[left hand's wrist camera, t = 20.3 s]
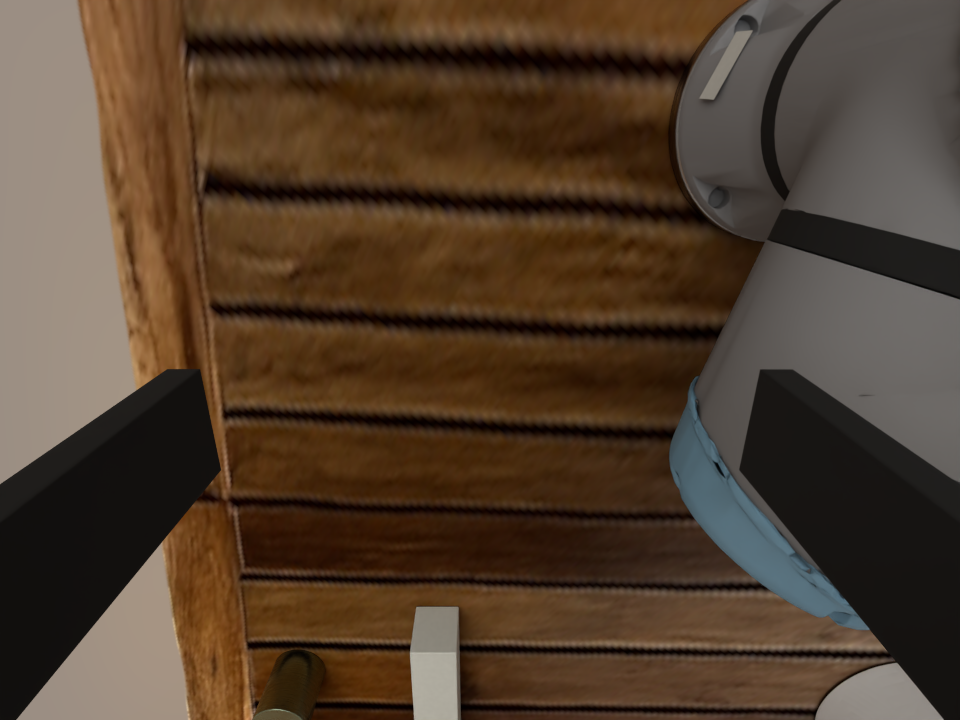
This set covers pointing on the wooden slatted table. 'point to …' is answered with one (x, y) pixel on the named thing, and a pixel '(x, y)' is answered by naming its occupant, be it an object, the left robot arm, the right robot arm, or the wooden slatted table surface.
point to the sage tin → (292, 687)
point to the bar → (436, 664)
